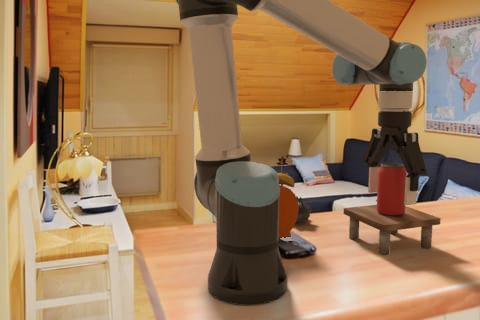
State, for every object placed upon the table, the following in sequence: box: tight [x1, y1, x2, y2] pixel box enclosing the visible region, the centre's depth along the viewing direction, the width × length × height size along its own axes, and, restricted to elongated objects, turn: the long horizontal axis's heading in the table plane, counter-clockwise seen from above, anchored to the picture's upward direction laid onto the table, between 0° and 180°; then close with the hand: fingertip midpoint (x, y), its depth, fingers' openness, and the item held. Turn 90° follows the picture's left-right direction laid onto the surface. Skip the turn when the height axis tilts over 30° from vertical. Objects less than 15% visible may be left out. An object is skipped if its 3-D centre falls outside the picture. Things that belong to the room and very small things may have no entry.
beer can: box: [376, 162, 408, 216], centre depth 111 cm, size 7×7×12 cm
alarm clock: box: [260, 160, 299, 240], centre depth 113 cm, size 13×6×20 cm, turn 123°
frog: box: [295, 195, 313, 223], centre depth 132 cm, size 10×12×8 cm
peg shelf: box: [342, 204, 442, 256], centre depth 113 cm, size 16×16×8 cm
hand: (390, 198), depth 112 cm, fingers open, 13 cm apart
